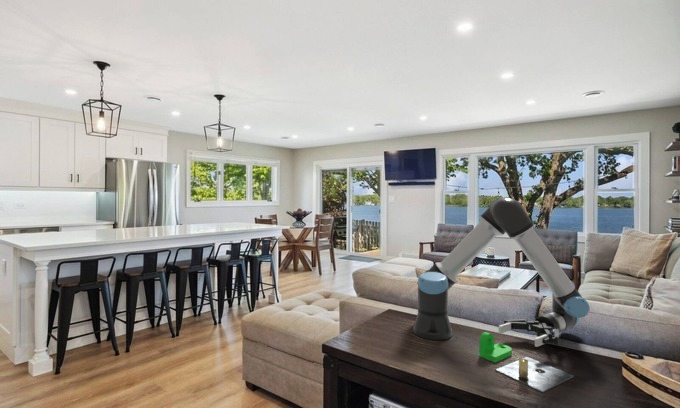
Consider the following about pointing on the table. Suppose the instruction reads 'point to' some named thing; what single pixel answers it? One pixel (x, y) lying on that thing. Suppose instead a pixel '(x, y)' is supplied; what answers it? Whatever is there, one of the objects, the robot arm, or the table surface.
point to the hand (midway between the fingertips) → (516, 335)
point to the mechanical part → (493, 348)
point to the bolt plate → (535, 374)
